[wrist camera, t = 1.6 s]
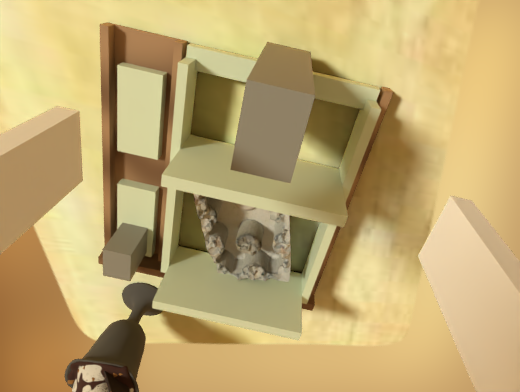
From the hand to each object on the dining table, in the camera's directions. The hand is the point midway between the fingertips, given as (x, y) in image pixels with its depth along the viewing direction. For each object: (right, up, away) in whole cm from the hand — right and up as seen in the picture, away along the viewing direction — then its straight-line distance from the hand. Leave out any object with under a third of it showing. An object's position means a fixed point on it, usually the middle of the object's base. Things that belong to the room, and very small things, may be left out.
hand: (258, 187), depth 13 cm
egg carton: (-1, -2, +21) cm, 21 cm away
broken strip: (-11, +1, +20) cm, 23 cm away
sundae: (-13, -12, +28) cm, 33 cm away
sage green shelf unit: (0, +2, +18) cm, 18 cm away
